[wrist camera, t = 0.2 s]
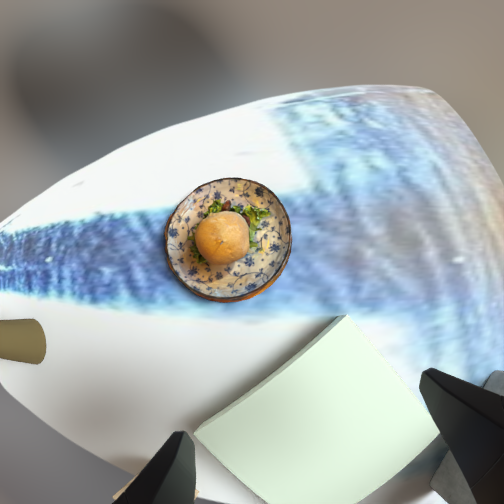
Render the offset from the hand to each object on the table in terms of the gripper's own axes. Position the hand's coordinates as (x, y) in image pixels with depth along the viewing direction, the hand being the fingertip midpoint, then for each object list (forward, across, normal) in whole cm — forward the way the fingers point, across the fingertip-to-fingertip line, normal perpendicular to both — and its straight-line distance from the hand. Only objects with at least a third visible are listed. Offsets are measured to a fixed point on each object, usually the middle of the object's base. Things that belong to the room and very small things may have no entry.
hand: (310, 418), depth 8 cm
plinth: (+8, -2, +14) cm, 17 cm away
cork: (+16, +31, +3) cm, 35 cm away
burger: (+19, +3, -2) cm, 20 cm away
